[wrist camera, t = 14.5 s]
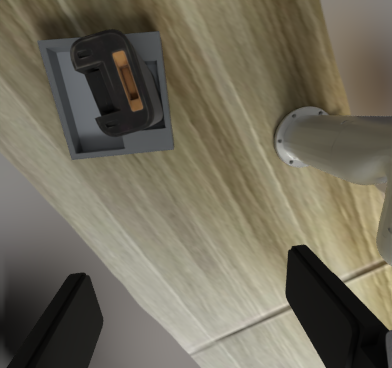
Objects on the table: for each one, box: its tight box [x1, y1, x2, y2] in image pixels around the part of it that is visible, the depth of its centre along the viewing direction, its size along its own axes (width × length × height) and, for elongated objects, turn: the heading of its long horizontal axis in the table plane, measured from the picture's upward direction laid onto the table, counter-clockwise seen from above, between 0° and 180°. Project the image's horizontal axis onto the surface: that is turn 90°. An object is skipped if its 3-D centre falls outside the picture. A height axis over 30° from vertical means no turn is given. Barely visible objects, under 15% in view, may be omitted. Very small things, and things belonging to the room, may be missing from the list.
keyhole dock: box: [37, 31, 174, 160], centre depth 38 cm, size 19×19×4 cm
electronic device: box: [70, 29, 164, 137], centre depth 30 cm, size 9×6×20 cm, turn 15°
